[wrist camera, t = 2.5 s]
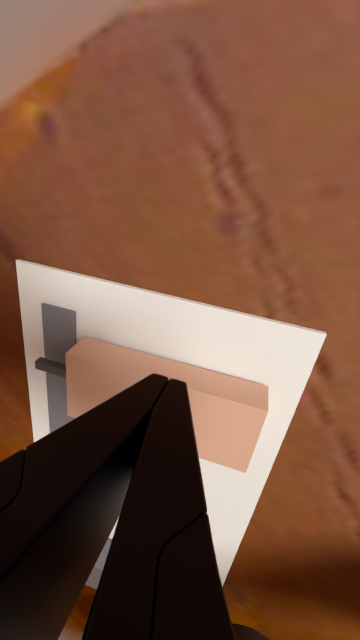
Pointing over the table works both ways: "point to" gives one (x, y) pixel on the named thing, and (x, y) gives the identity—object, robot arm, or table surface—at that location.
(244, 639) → the coffee mug
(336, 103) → the table surface
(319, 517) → the table surface
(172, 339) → the base
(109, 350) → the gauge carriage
